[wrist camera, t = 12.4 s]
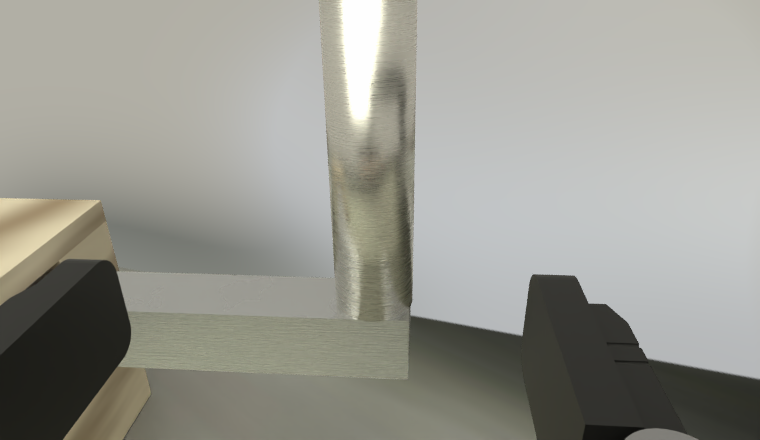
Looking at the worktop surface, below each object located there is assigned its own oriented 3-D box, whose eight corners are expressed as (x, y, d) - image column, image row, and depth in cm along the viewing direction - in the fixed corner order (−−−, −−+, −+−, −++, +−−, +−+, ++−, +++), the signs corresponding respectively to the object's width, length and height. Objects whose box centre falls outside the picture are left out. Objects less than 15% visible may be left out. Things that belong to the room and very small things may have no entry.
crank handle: (412, 333, 26) (418, -13, 19) (410, 381, 23) (416, -7, 16) (-22, 316, 27) (-156, -9, 21) (-74, 360, 24) (-249, -2, 18)
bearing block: (151, 393, 35) (100, 200, 29) (29, 591, 24) (-93, 349, 18) (61, 389, 35) (-7, 198, 29) (-98, 581, 25) (-257, 342, 19)
